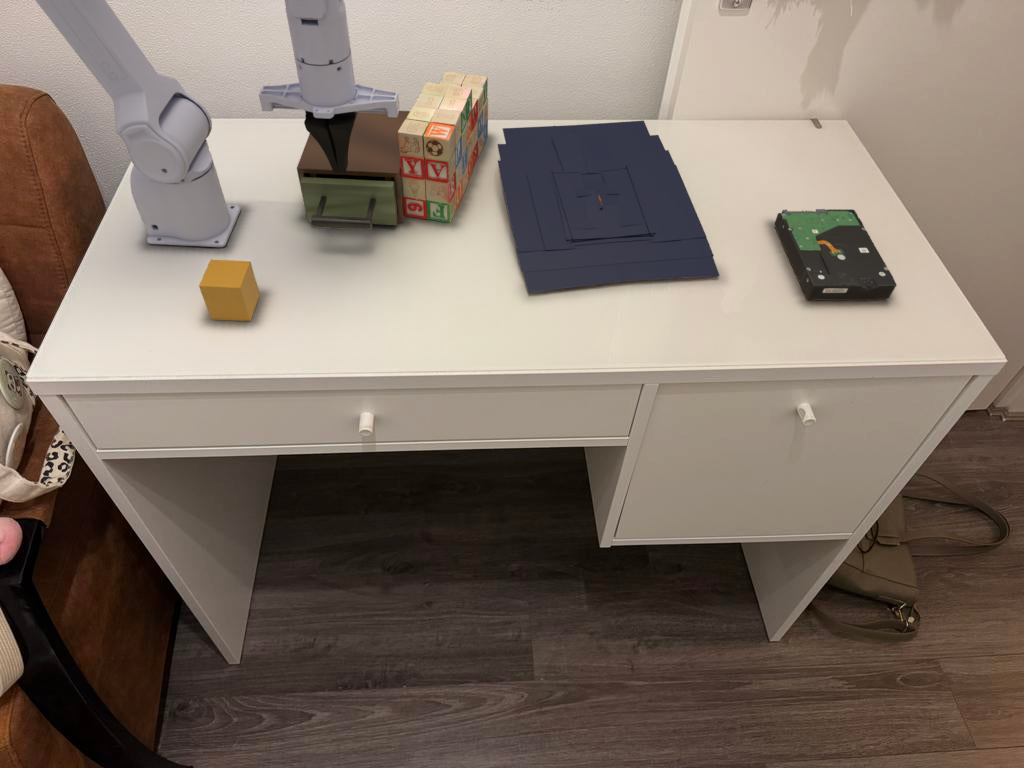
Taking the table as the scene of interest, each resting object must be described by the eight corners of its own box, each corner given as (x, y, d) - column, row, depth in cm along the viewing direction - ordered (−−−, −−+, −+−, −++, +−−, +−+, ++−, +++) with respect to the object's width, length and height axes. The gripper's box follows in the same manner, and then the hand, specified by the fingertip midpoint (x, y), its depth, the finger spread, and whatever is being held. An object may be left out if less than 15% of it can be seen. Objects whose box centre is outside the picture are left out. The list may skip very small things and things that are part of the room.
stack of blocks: (447, 130, 111) (444, 48, 101) (488, 137, 110) (489, 54, 101) (404, 216, 97) (396, 130, 88) (451, 224, 96) (448, 138, 87)
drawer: (391, 252, 91) (387, 213, 87) (298, 247, 91) (290, 209, 87) (408, 165, 103) (406, 127, 99) (327, 161, 103) (321, 123, 99)
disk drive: (889, 302, 90) (846, 224, 100) (899, 284, 88) (855, 207, 97) (806, 303, 89) (771, 224, 99) (814, 286, 87) (777, 207, 97)
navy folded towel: (652, 135, 110) (657, 114, 107) (715, 290, 93) (724, 270, 90) (488, 145, 106) (489, 123, 103) (524, 307, 90) (526, 287, 87)
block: (211, 319, 84) (198, 285, 80) (222, 292, 86) (210, 259, 83) (250, 321, 84) (240, 287, 80) (260, 294, 86) (250, 261, 83)
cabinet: (403, 222, 96) (399, 172, 91) (306, 218, 96) (296, 168, 90) (415, 159, 106) (412, 111, 100) (327, 155, 105) (319, 106, 100)
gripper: (240, 67, 74) (269, 185, 84) (388, 75, 74) (399, 191, 84) (258, 35, 78) (283, 150, 88) (397, 42, 78) (406, 156, 89)
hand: (340, 168), depth 87 cm, fingers closed
